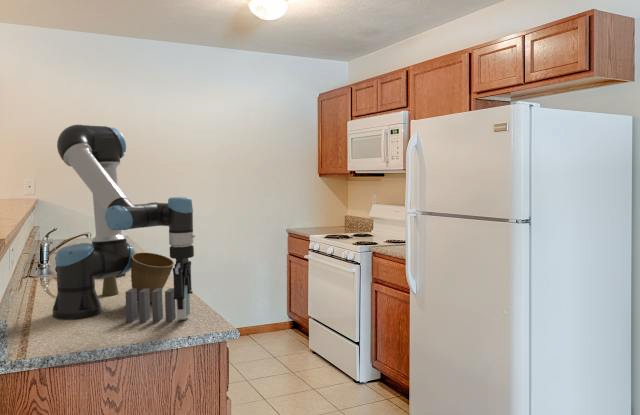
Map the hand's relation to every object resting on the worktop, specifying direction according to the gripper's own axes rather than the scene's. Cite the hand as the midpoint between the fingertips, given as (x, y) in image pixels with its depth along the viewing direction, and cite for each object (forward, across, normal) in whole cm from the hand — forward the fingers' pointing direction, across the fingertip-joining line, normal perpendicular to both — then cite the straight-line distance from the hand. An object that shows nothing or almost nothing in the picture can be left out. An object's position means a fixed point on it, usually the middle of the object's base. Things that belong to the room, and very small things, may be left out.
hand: (183, 316), depth 171 cm
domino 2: (+1, 0, +13) cm, 13 cm away
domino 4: (+1, 0, +4) cm, 5 cm away
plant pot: (0, +23, +21) cm, 31 cm away
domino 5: (0, 0, 0) cm, 0 cm away
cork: (+1, +37, +39) cm, 54 cm away
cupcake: (+1, +74, +51) cm, 90 cm away
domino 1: (+1, 0, +17) cm, 17 cm away
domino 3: (+1, 0, +8) cm, 9 cm away
